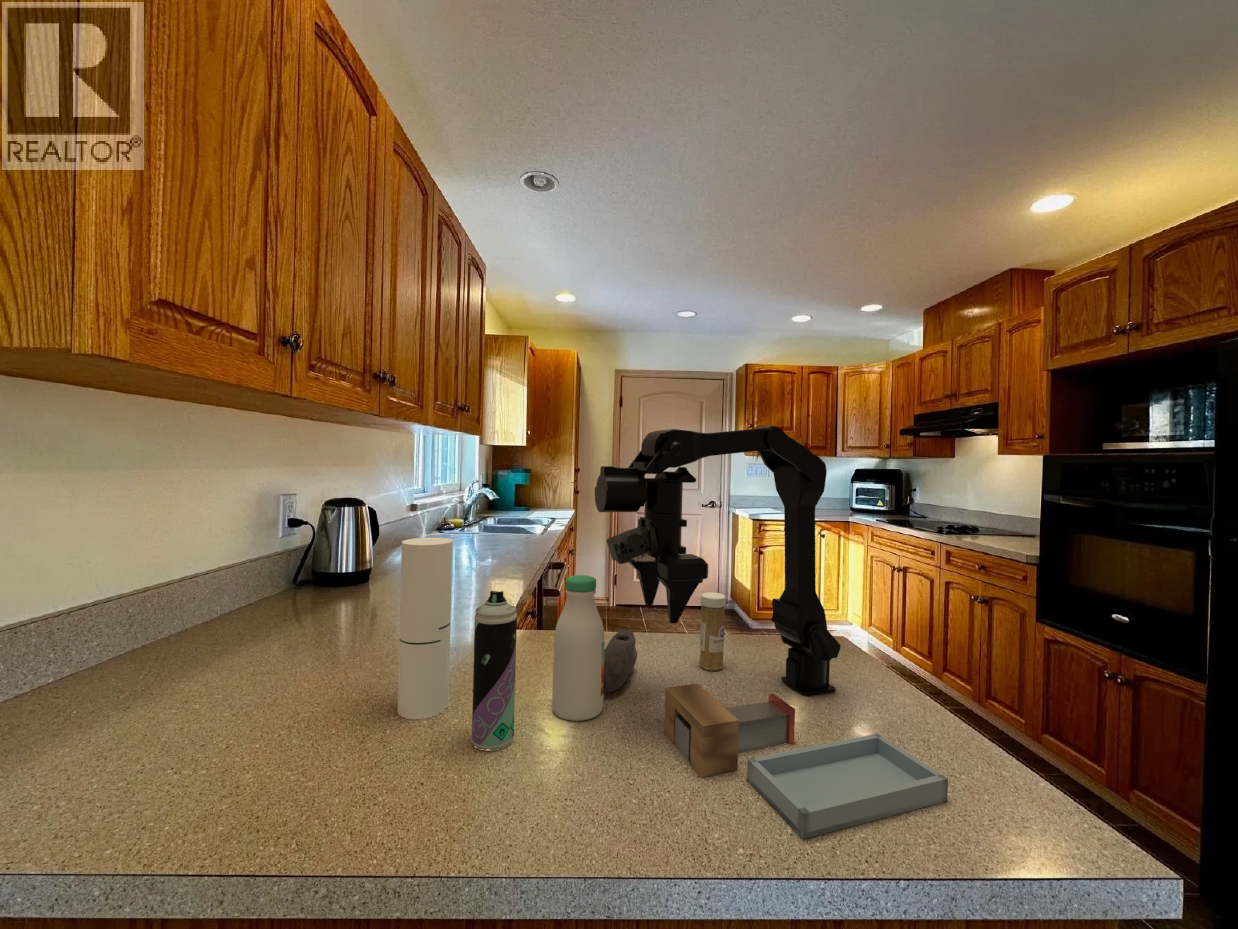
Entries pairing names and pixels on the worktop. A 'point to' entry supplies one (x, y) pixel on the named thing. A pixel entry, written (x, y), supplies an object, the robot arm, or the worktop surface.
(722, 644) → the spice jar
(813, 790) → the tray
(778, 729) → the red capped grey bar
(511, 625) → the spray can
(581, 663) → the milk bottle
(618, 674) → the perforated stone tool
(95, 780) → the worktop surface
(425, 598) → the cylindrical container
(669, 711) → the block
